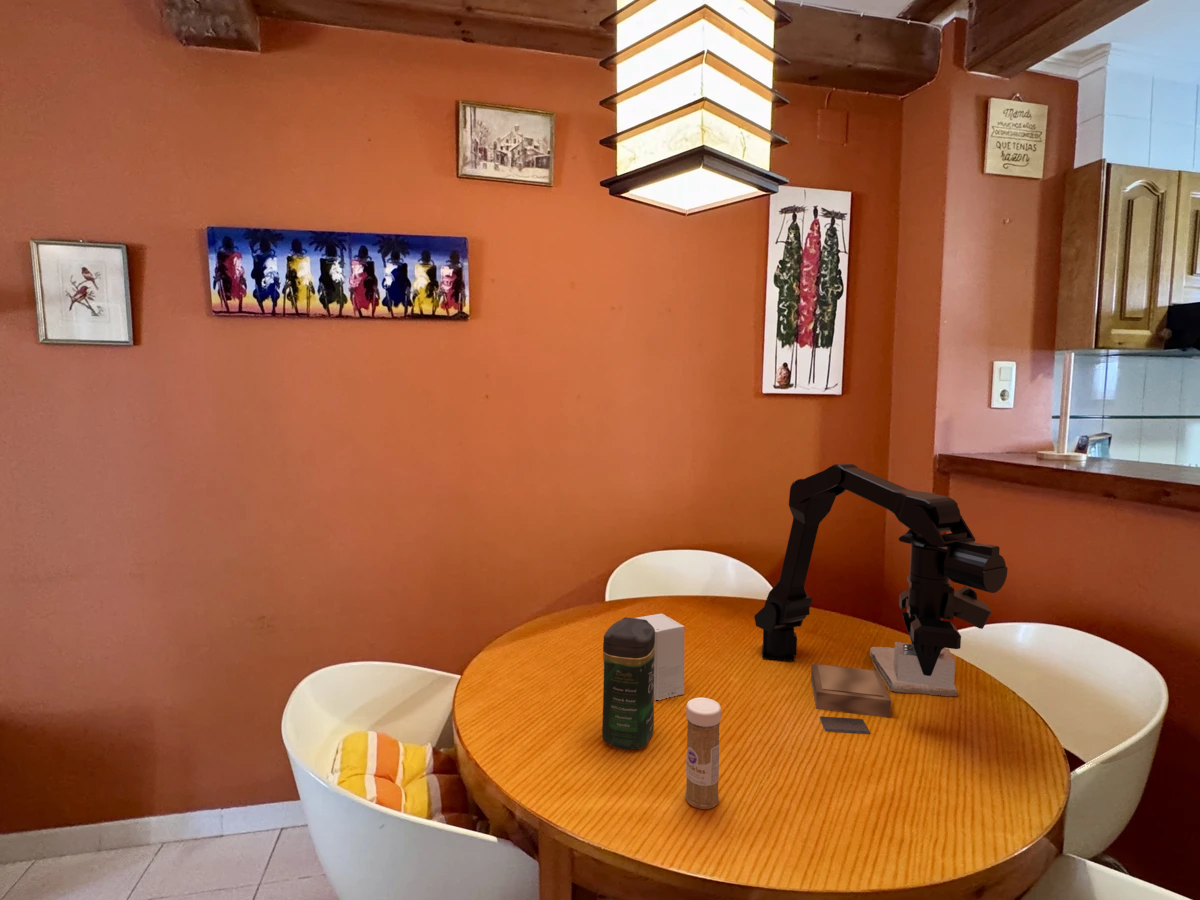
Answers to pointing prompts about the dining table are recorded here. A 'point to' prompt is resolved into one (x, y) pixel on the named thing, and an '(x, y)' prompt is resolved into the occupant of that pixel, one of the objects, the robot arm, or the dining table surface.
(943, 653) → the housing
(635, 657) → the coffee jar
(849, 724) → the cover plate
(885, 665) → the washcloth
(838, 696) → the tray
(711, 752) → the sprinkles bottle
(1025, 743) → the dining table surface
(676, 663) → the small box
